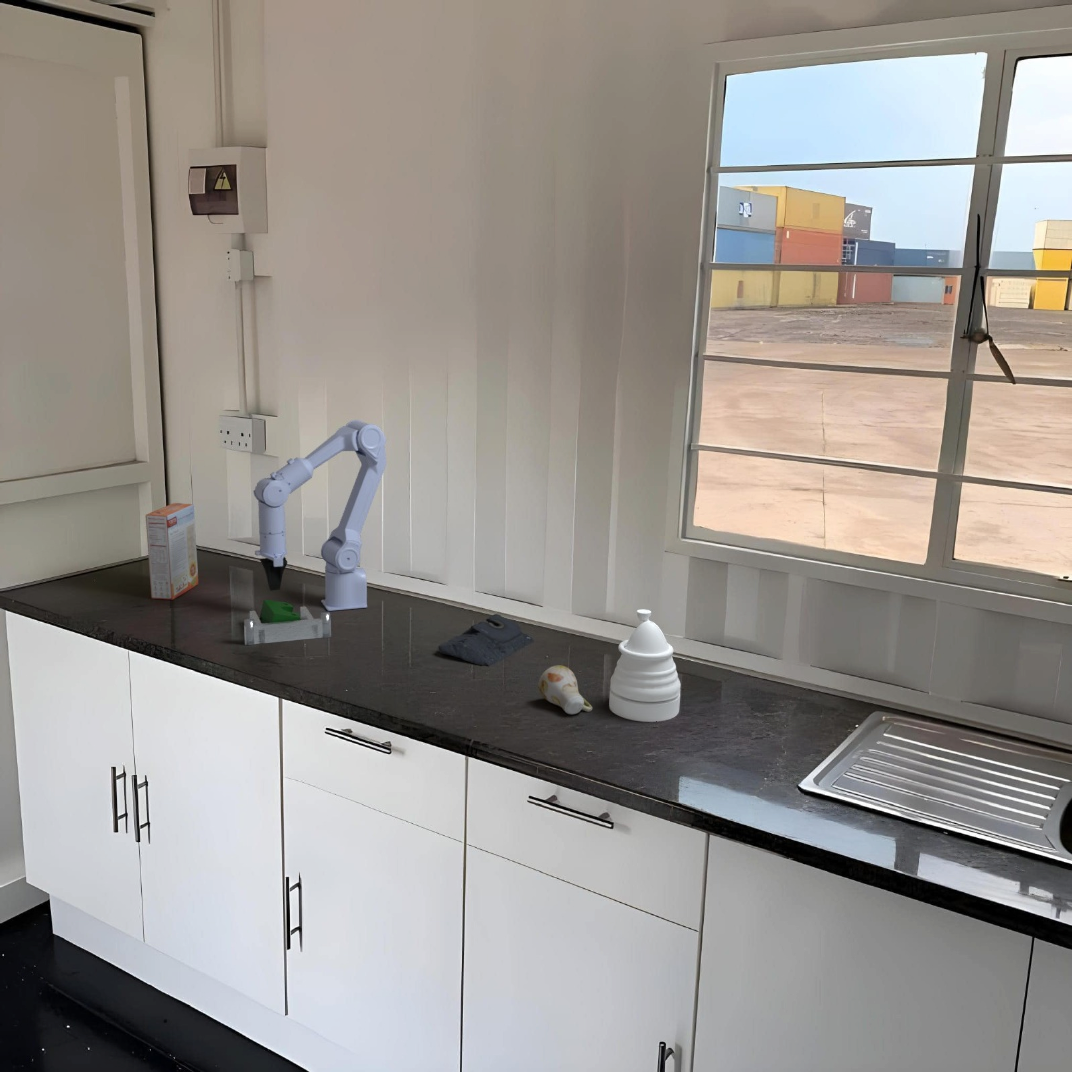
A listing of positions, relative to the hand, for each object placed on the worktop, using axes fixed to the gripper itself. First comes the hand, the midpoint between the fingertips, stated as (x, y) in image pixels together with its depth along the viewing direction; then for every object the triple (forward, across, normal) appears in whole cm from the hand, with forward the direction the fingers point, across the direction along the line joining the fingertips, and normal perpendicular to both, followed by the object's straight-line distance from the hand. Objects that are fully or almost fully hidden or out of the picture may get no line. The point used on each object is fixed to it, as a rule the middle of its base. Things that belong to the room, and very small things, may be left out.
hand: (274, 589), depth 237 cm
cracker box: (+6, -26, -20) cm, 34 cm away
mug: (+7, +71, +41) cm, 82 cm away
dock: (+6, +12, 0) cm, 13 cm away
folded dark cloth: (+7, +35, +38) cm, 52 cm away
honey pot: (+7, +76, +55) cm, 94 cm away
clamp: (+6, +12, -1) cm, 13 cm away
